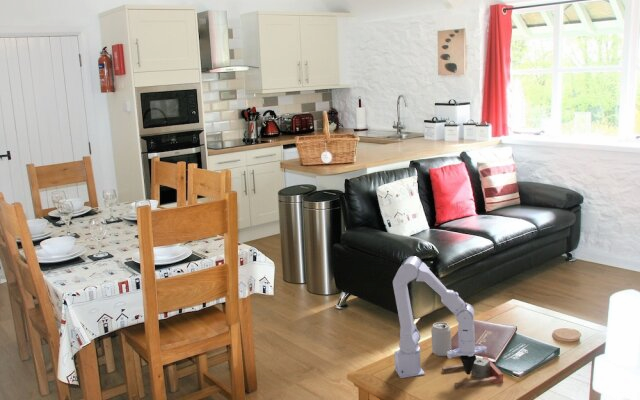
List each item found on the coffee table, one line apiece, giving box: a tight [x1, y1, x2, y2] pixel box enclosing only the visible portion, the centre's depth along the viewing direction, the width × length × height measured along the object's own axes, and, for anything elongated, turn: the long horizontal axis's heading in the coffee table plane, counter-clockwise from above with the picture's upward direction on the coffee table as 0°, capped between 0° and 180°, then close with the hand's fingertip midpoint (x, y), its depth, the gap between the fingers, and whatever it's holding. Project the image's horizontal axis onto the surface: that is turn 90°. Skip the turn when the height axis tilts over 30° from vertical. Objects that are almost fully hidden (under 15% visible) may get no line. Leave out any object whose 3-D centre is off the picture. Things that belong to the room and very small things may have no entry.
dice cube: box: [470, 356, 491, 379], centre depth 224 cm, size 5×5×5 cm
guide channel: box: [441, 356, 504, 390], centre depth 223 cm, size 18×14×3 cm
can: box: [430, 321, 452, 357], centre depth 242 cm, size 8×8×12 cm
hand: (467, 373), depth 223 cm, fingers closed
